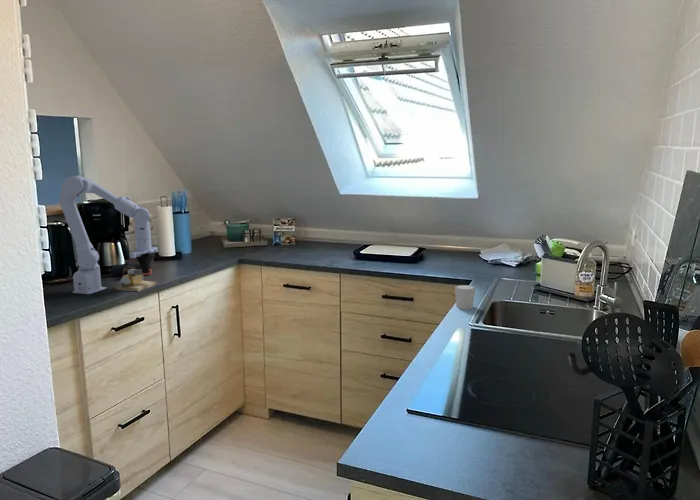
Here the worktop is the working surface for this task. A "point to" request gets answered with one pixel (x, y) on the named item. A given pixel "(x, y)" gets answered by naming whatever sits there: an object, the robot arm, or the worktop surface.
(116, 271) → the pipe connector
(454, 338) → the worktop surface
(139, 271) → the lever
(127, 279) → the valve body
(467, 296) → the light grey cylinder
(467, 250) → the worktop surface
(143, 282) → the board
